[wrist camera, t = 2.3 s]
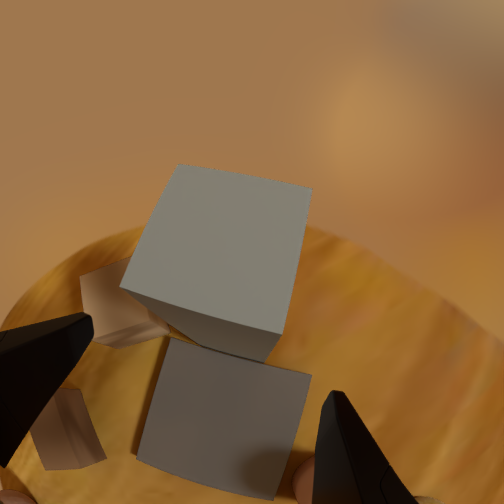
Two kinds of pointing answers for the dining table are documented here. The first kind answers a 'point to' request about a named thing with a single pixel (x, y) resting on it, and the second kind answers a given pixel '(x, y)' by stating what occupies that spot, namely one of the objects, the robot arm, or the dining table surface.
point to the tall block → (221, 258)
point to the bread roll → (428, 500)
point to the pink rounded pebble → (304, 481)
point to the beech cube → (117, 309)
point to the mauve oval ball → (14, 497)
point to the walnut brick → (66, 433)
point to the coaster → (223, 420)
